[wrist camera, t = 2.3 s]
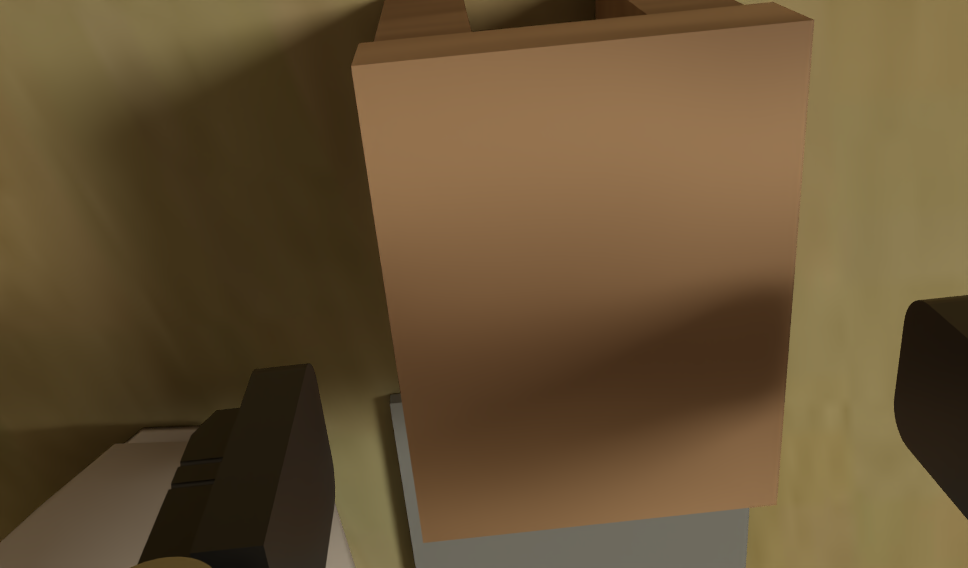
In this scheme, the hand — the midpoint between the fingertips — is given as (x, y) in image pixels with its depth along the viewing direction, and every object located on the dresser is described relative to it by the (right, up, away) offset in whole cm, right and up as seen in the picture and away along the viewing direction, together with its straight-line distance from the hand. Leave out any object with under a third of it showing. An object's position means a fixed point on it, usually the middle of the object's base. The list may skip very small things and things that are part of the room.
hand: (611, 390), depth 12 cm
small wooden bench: (0, +4, +7) cm, 9 cm away
